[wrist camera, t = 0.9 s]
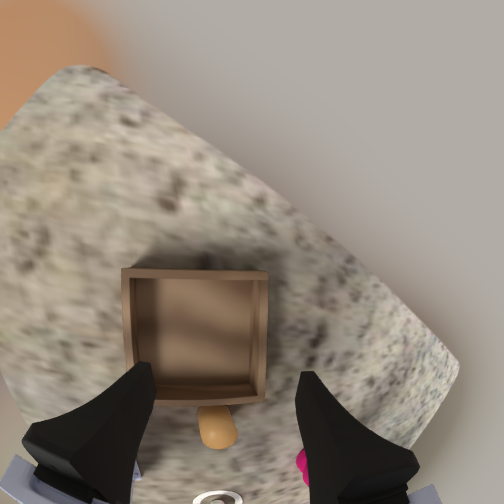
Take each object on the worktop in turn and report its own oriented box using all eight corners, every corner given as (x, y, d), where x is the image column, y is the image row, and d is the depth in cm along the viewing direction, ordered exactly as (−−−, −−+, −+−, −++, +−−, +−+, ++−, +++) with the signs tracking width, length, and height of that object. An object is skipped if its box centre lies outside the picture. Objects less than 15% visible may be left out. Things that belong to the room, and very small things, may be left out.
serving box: (253, 384, 30) (264, 401, 26) (137, 386, 27) (131, 404, 22) (256, 270, 31) (268, 271, 26) (130, 267, 27) (121, 268, 23)
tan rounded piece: (229, 425, 29) (237, 447, 25) (198, 427, 28) (202, 450, 24) (229, 400, 30) (237, 421, 25) (196, 401, 28) (200, 423, 24)
